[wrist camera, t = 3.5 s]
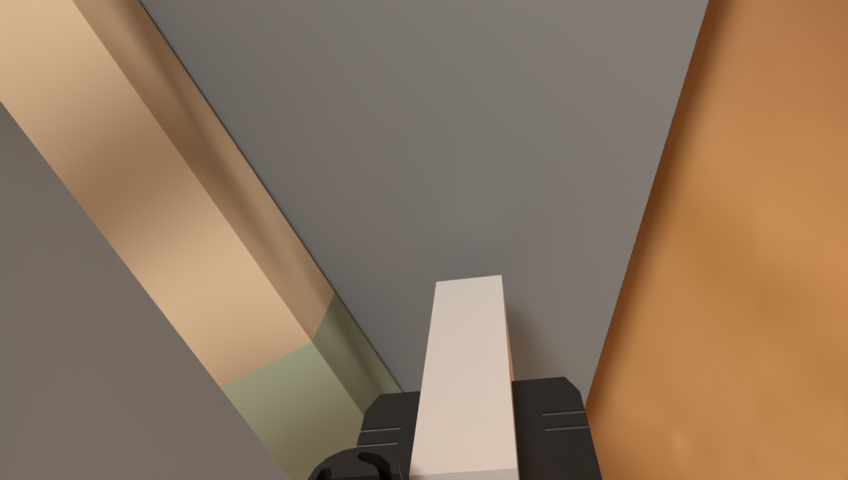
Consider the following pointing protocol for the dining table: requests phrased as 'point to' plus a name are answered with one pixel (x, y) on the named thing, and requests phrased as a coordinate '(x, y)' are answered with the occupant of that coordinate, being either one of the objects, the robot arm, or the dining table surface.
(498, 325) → the robot arm
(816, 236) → the dining table surface
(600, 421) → the dining table surface
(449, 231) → the board
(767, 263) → the dining table surface
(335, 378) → the bar
